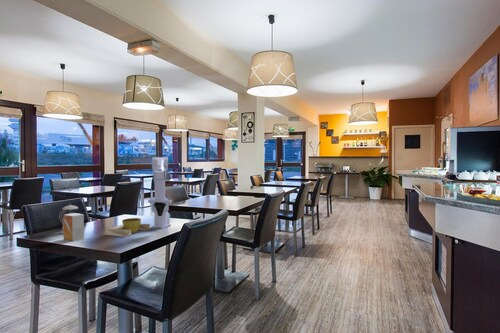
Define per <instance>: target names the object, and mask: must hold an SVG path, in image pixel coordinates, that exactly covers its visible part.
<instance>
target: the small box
mask: <svg viewBox="0 0 500 333" xmlns="http://www.w3.org/2000/svg"><path fill="white" fill-rule="evenodd" d="M84 216H85V215H84V214H83V213H76V212H71V214H70V213H67V214H62V219H63V220H62V222H63V223H62V225H63V224H64V234H63V240H66V241H71V242H77V241H79V240H84V239H85V223H84V222H85V220H84V219H85V217H84Z"/></svg>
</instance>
